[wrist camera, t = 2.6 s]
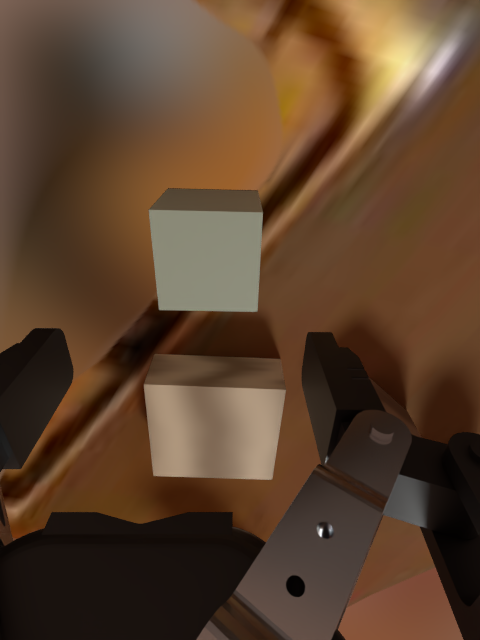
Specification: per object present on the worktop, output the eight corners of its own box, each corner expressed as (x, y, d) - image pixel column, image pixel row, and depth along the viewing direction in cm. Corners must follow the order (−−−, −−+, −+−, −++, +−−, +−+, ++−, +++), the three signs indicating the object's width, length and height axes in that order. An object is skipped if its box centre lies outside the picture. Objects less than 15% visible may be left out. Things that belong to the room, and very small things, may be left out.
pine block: (280, 356, 29) (285, 389, 25) (268, 442, 34) (272, 479, 30) (155, 351, 28) (143, 384, 25) (162, 438, 34) (153, 475, 30)
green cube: (257, 190, 22) (262, 212, 17) (253, 273, 25) (257, 311, 20) (168, 188, 22) (148, 209, 17) (174, 271, 25) (158, 309, 20)
